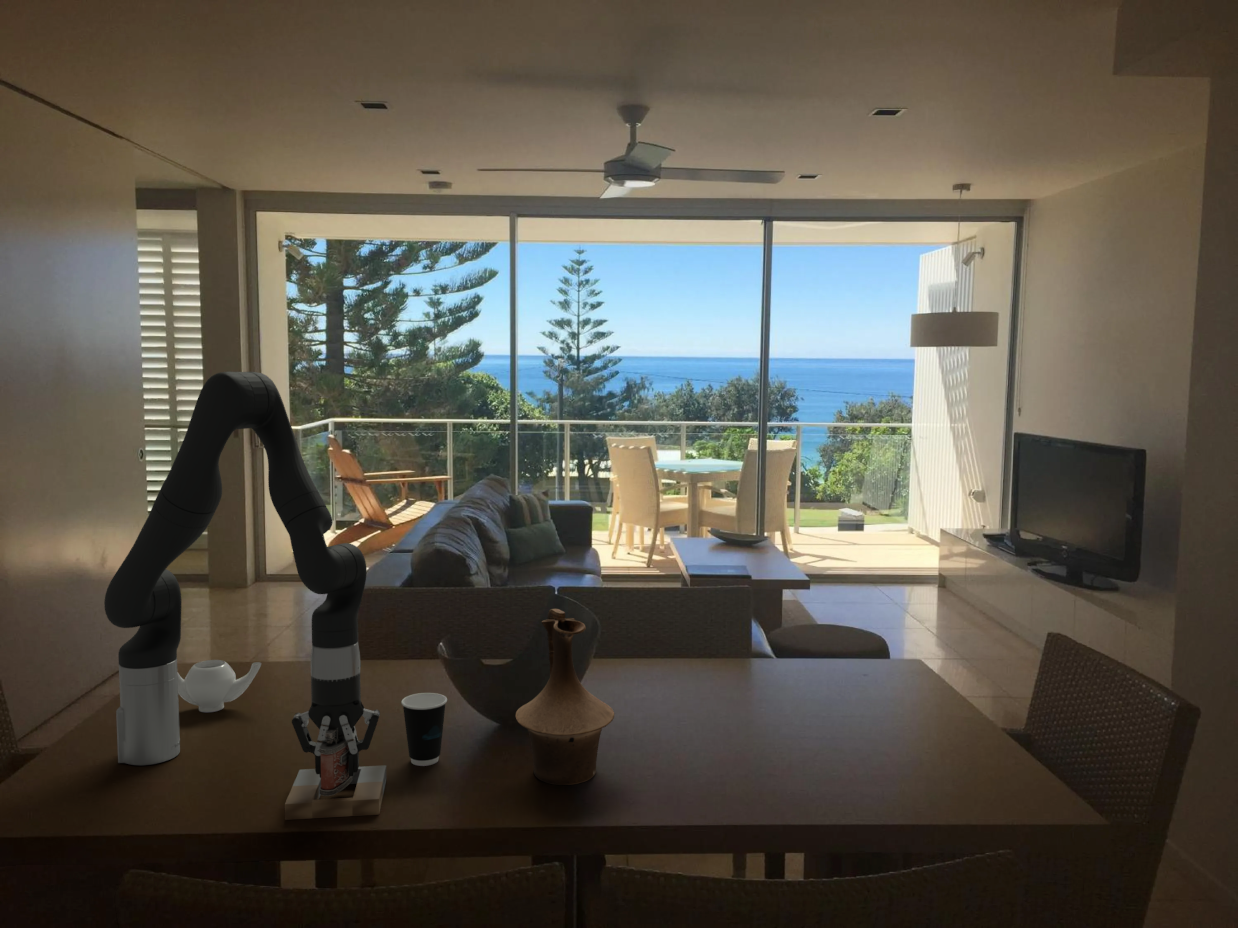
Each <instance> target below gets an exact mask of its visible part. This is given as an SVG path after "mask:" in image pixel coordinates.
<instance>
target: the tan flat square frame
mask: <svg viewBox="0 0 1238 928" xmlns="http://www.w3.org/2000/svg"><path fill="white" fill-rule="evenodd" d="M386 783H387V765H384V764H383V765H368V766H359V768H358V771H357V772H355V773H354V776H353V779H352V781H351V782H350V783H349V785H354V784H356V787H355V789H354V793H353V796H352V797H344V798H343V797H342V798H340V797H339V798H322V799H320V797H321V795H320V787H321V778H320V774H316V772H315V768H306V769H305V768H304V769H298V773H297V776H296V778H295V779H294V781H293V784H292V786H291V789H290V791H289V793H288V796H287V798H286V800H285V803H284V820H285V821H288V820H290V821H291V820H305V819H306V820H307V819H322V818H323V819H324V818H340V817H341V818H343V817H357V816H358V817H359V816H376V815H378V816H379V815H380V812H381V807H382V802H383V798H384V793H385V789H386Z"/></svg>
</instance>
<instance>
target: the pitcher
mask: <svg viewBox="0 0 1238 928" xmlns="http://www.w3.org/2000/svg"><path fill="white" fill-rule="evenodd" d="M541 624H542V626H543V627H544V629H545V630H546V632H547V647H548V660H549V678H548V680H547V682H546V684H545V686H544V687H543V688H542V690H541V691H539V693H538V694H537V695H536V696H535V697H534V698H533V699H531V700H530V701H529V702H527V703H525V704H523V705H522V706H520V707H519V708H518V709H517V710H516V712H515V718H516V721H517V723H518V724H519V725H521V726H522V727H523V728H525V729H527V732H528V737H529V740H530V741H529V742H530V746H531V754H532V760H533V775H534V776H535V777H536V778H537V779H538V780H539V781H541V782H544V783H547V784H552V785H557V786H558V785H559V786H567V785H568V786H570V785H572V786H573V785H577V784H581V783H584V782H587V781H589V780H591V779H592V778H593V777H594V776H595V775H596V773H597V760H598V751H599V744H600V738H601V733H602V730H603V729H604V728H606V727H608V726H609V725H610V724H611V723H612V722H613V720H614V719H615V712H614V709H613V708H612V707H611V706H609V704H608V703H605V702H604V701H602V700H601V699H599V698H597V696H595V695H593V694H592V693H591V692H589V690H587V689H586V688H585V687H584V686H583V685H582V683H581V682H580V680H579V678H578V676H577V672H576V670H575V666H574V660H573V639H574V638H573V637H574V636H576V635H579V634H582V633H584V631H585V630H586V629H587V627H586V625H585V623H583V622H581V621H579V620H576V619H575V618H572V617H567V618H566V612H565V611H563V610H561V609H559V608H551V609H549V610H548V613H547V619H544V620H542V621H541Z"/></svg>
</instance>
